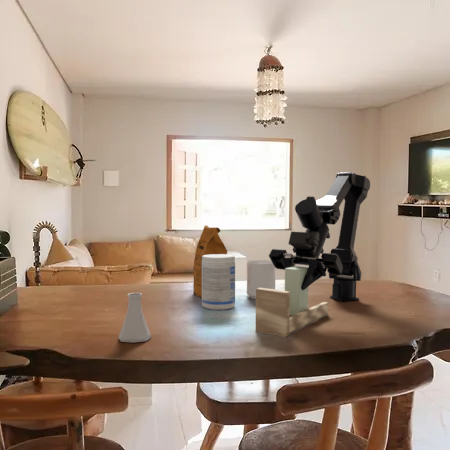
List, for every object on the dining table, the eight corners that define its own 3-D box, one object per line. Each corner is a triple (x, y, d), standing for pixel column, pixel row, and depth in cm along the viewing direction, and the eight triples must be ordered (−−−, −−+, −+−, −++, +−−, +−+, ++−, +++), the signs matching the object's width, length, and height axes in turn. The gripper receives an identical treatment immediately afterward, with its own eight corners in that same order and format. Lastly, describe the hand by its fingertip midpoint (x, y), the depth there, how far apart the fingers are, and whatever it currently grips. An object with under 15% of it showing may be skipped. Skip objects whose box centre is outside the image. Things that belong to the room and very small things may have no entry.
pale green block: (293, 310, 122) (294, 265, 121) (307, 312, 119) (308, 267, 119) (284, 314, 118) (285, 268, 117) (299, 316, 115) (299, 270, 115)
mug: (277, 300, 143) (278, 263, 143) (248, 300, 143) (249, 264, 142) (270, 292, 155) (270, 258, 155) (243, 292, 155) (244, 258, 154)
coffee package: (218, 290, 158) (218, 224, 156) (230, 297, 146) (231, 227, 145) (189, 291, 155) (189, 225, 153) (199, 299, 143) (199, 227, 142)
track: (301, 311, 130) (301, 275, 129) (327, 315, 125) (328, 278, 125) (255, 331, 110) (255, 288, 110) (285, 337, 106) (285, 293, 105)
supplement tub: (238, 310, 131) (239, 257, 130) (205, 311, 128) (205, 258, 128) (230, 302, 140) (230, 253, 139) (199, 303, 138) (199, 253, 137)
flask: (120, 334, 107) (120, 290, 107) (152, 333, 108) (152, 290, 107) (115, 344, 100) (115, 297, 99) (150, 343, 101) (150, 297, 100)
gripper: (272, 218, 126) (250, 264, 117) (339, 221, 115) (320, 272, 107) (286, 245, 133) (265, 290, 124) (350, 250, 122) (332, 300, 114)
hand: (294, 288), depth 117 cm, fingers closed on pale green block, 4 cm apart
